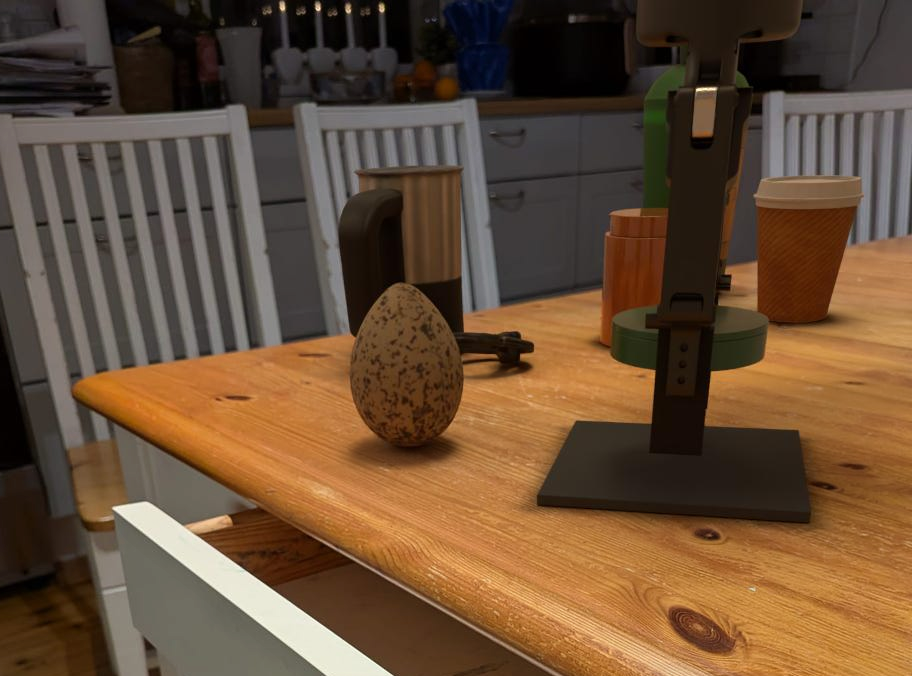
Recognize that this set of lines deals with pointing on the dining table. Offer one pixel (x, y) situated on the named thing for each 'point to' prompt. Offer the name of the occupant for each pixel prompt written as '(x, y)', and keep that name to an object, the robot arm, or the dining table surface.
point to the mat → (681, 473)
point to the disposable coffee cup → (802, 242)
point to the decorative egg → (406, 369)
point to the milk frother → (412, 249)
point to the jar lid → (733, 338)
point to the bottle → (657, 145)
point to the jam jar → (632, 263)
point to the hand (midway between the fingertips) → (680, 427)
